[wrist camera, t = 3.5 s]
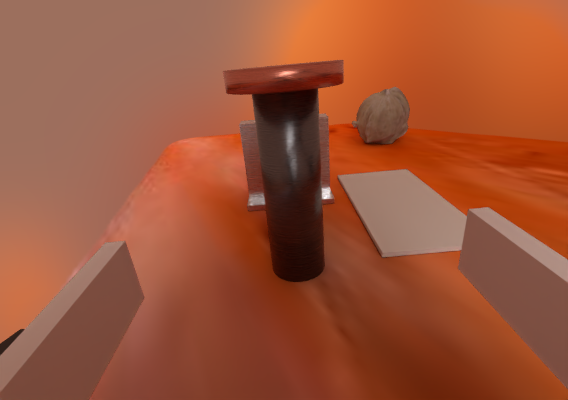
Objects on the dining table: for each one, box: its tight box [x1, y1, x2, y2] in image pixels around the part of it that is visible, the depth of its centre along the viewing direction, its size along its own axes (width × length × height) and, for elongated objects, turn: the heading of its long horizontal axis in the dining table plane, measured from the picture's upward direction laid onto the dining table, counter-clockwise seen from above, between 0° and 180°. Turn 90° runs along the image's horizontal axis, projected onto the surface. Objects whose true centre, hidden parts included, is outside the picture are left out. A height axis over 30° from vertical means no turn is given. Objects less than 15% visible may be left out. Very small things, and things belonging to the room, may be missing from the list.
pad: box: [338, 169, 467, 257], centre depth 32 cm, size 9×18×1 cm, turn 2°
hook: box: [223, 60, 343, 282], centre depth 29 cm, size 7×24×14 cm, turn 2°
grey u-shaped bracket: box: [240, 114, 334, 211], centre depth 34 cm, size 9×5×9 cm, turn 92°
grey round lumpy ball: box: [352, 87, 410, 144], centre depth 53 cm, size 9×8×10 cm
